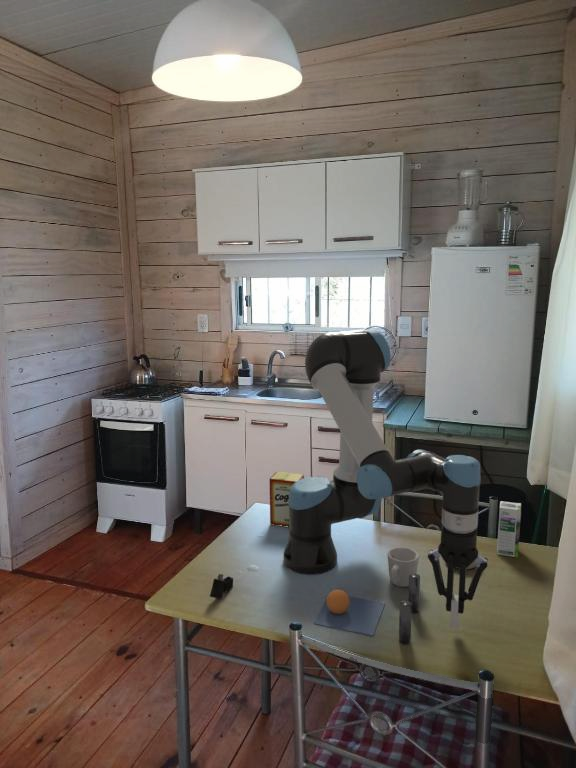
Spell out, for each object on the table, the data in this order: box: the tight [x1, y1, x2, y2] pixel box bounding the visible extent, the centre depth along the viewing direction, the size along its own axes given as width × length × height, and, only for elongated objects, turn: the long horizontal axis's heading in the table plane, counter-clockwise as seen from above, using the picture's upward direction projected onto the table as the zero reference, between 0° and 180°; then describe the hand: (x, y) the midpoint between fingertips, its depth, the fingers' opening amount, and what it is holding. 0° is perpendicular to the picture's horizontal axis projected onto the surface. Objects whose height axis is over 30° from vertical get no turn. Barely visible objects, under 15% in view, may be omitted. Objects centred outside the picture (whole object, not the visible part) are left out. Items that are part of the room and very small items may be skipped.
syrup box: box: [496, 500, 522, 559], centre depth 172 cm, size 6×6×14 cm
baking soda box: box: [269, 471, 305, 528], centre depth 193 cm, size 10×6×16 cm
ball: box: [326, 589, 350, 614], centre depth 144 cm, size 6×6×6 cm
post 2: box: [407, 573, 421, 614], centre depth 144 cm, size 3×3×9 cm
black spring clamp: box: [209, 573, 234, 600], centre depth 153 cm, size 9×2×6 cm
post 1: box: [398, 600, 413, 645], centre depth 133 cm, size 3×3×9 cm
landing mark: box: [313, 591, 386, 637], centre depth 144 cm, size 14×14×1 cm
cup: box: [387, 546, 420, 588], centre depth 156 cm, size 11×8×8 cm
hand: (454, 624), depth 136 cm, fingers closed
